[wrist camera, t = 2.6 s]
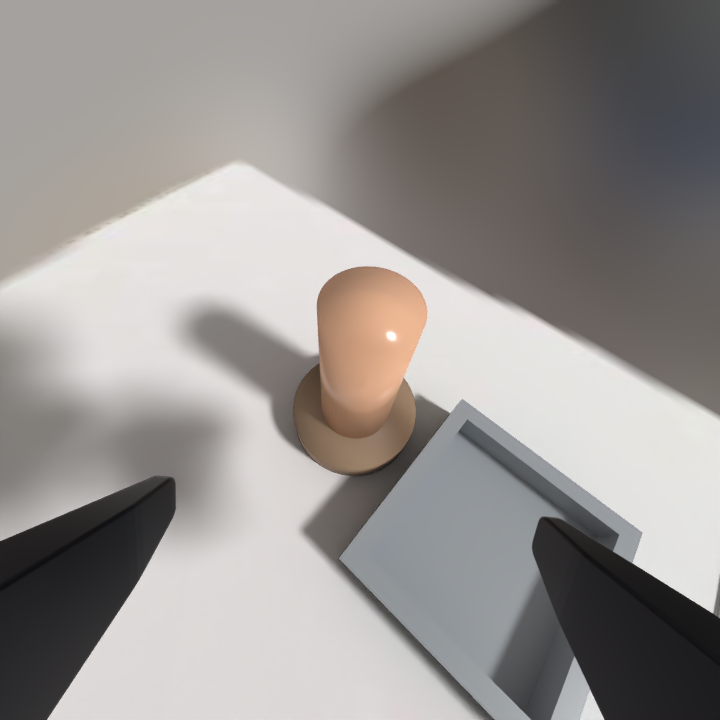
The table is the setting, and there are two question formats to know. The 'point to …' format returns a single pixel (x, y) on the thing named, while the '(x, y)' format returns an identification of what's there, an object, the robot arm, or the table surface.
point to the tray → (483, 565)
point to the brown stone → (350, 452)
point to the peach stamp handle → (365, 345)
